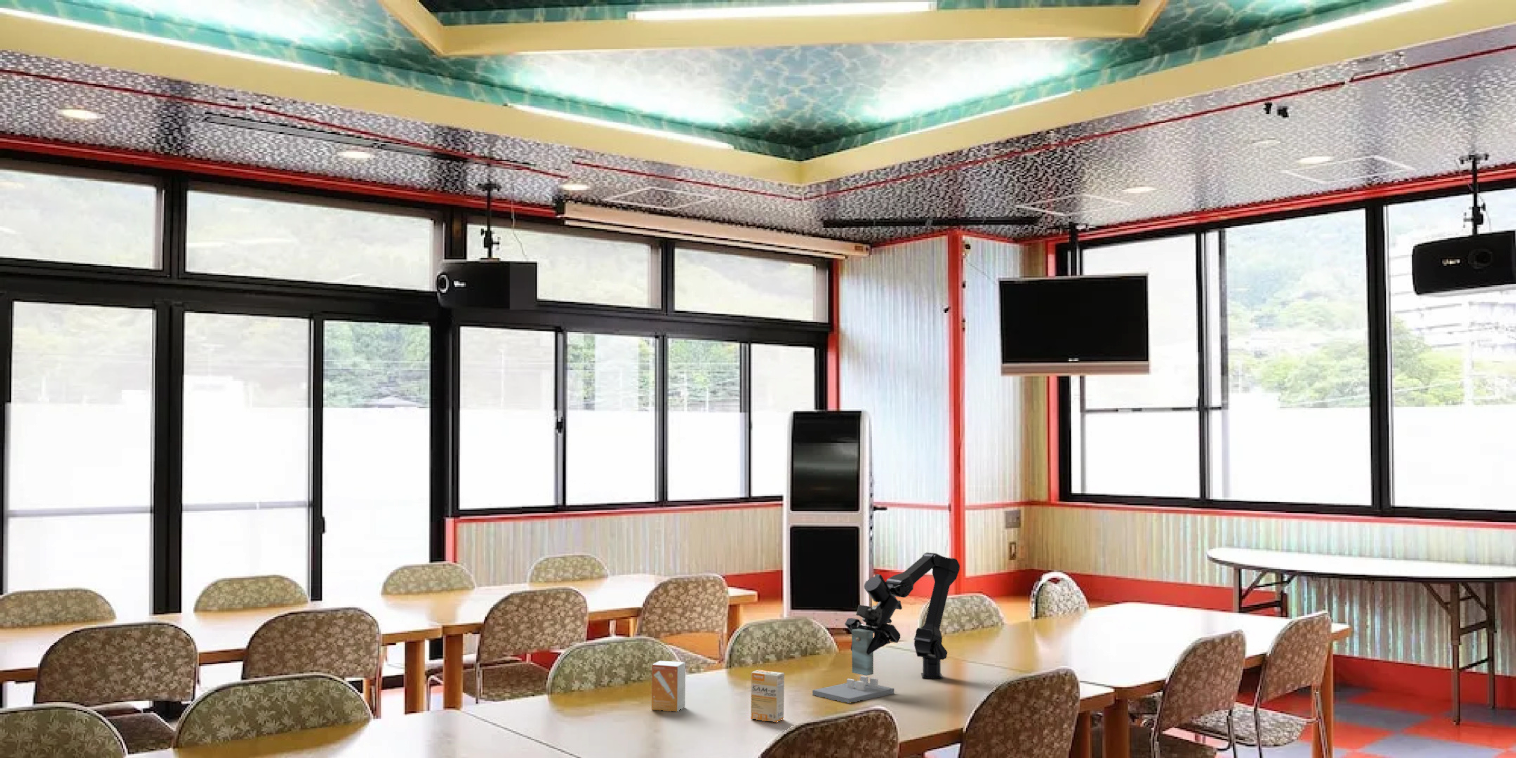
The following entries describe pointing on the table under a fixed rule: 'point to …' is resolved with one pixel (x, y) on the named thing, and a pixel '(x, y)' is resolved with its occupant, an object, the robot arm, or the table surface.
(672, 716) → the table surface
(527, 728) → the table surface
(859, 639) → the tall streaky grey pillar
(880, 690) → the base plate
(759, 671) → the supplement box
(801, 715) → the table surface
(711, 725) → the table surface
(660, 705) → the small box
